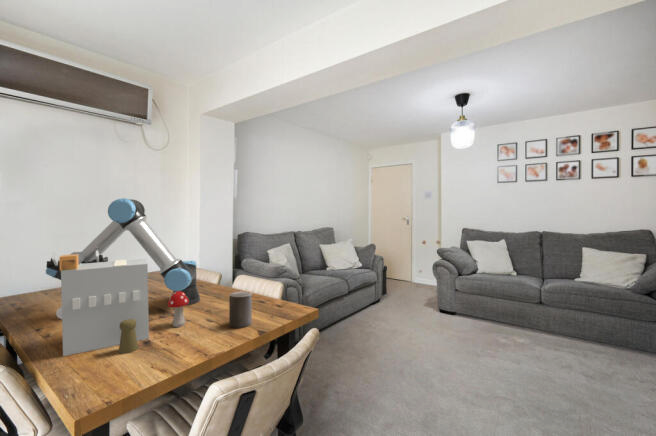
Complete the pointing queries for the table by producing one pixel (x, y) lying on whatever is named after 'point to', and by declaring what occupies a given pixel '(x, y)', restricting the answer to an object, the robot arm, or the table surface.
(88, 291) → the breaker panel
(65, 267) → the handle
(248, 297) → the pillar candle
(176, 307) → the decorative mushroom
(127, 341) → the cork
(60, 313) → the smoothie
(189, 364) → the table surface
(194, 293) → the robot arm
